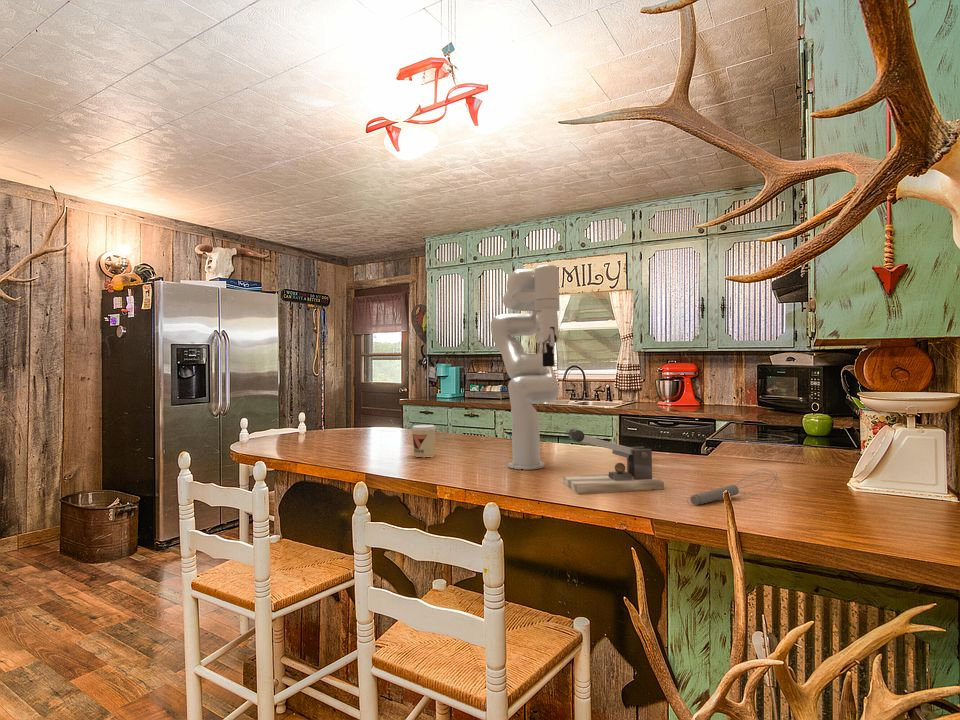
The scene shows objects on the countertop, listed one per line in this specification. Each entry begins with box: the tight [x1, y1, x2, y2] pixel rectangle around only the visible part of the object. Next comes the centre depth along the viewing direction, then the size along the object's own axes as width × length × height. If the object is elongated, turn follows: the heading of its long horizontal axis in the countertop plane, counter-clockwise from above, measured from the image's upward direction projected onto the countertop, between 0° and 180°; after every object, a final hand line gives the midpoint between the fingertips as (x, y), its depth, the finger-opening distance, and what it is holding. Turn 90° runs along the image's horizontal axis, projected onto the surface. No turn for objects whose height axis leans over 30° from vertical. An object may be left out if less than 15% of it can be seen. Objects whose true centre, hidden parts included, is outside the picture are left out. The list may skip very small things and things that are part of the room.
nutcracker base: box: [562, 446, 665, 495], centre depth 158 cm, size 14×25×10 cm, turn 98°
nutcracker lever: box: [567, 428, 639, 459], centre depth 158 cm, size 5×23×4 cm, turn 98°
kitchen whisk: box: [686, 468, 782, 506], centre depth 143 cm, size 6×34×6 cm, turn 116°
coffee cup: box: [411, 424, 437, 457], centre depth 214 cm, size 9×9×12 cm
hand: (548, 366), depth 166 cm, fingers closed
